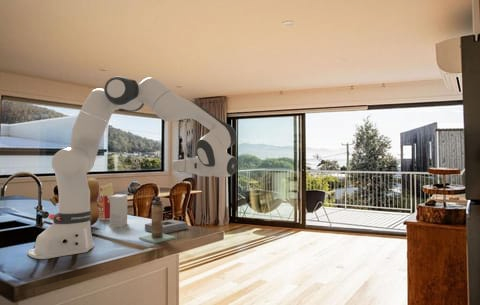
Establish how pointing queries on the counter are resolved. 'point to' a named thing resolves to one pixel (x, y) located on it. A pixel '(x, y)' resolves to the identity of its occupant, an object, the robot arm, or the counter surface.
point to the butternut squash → (93, 199)
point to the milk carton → (105, 201)
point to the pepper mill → (157, 218)
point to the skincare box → (118, 210)
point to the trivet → (156, 240)
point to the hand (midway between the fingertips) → (182, 164)
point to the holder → (169, 226)
